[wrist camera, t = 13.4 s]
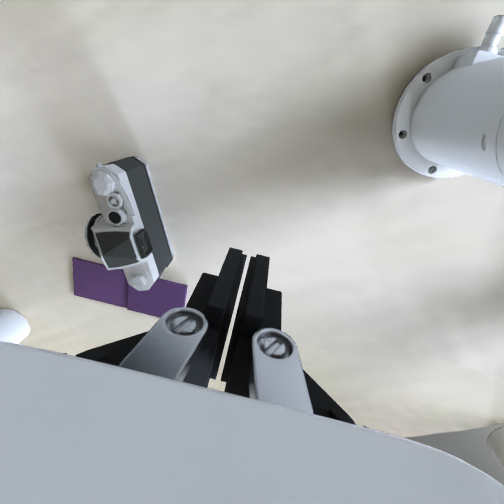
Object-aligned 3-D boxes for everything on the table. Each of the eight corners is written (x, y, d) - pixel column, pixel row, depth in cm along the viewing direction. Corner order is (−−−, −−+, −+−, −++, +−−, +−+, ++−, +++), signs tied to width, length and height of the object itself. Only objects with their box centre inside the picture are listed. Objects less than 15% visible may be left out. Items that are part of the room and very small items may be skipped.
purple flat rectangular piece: (73, 257, 45) (70, 259, 45) (187, 285, 45) (186, 287, 45) (75, 294, 48) (73, 296, 48) (182, 320, 48) (181, 322, 48)
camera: (87, 160, 38) (27, 175, 29) (149, 150, 37) (106, 163, 28) (127, 267, 45) (88, 306, 36) (181, 262, 44) (154, 301, 35)
